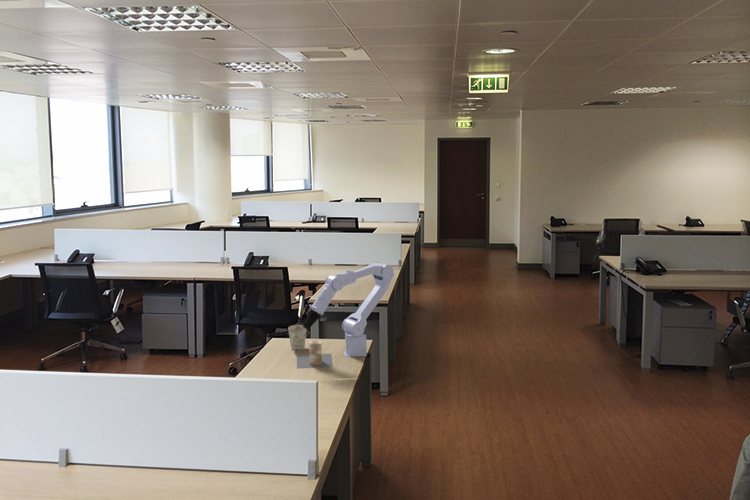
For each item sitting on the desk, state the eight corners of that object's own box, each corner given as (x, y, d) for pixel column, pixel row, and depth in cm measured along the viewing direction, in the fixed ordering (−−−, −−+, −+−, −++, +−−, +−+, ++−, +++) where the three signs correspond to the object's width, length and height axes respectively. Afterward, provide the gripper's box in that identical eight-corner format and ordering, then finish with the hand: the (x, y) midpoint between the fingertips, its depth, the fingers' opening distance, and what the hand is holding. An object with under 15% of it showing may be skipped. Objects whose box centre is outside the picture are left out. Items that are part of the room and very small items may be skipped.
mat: (330, 354, 285) (330, 353, 285) (333, 367, 268) (333, 366, 268) (296, 355, 284) (296, 354, 284) (296, 369, 266) (296, 368, 266)
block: (321, 360, 275) (321, 340, 274) (321, 364, 271) (321, 343, 269) (309, 361, 275) (309, 340, 274) (310, 365, 270) (309, 344, 269)
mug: (308, 345, 298) (308, 325, 297) (303, 354, 286) (302, 332, 284) (291, 345, 299) (290, 324, 298) (284, 353, 287) (284, 332, 285)
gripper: (313, 296, 280) (296, 323, 277) (317, 293, 266) (299, 321, 263) (327, 305, 280) (310, 332, 277) (331, 303, 266) (313, 331, 263)
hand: (305, 327), depth 270 cm, fingers open, 7 cm apart
